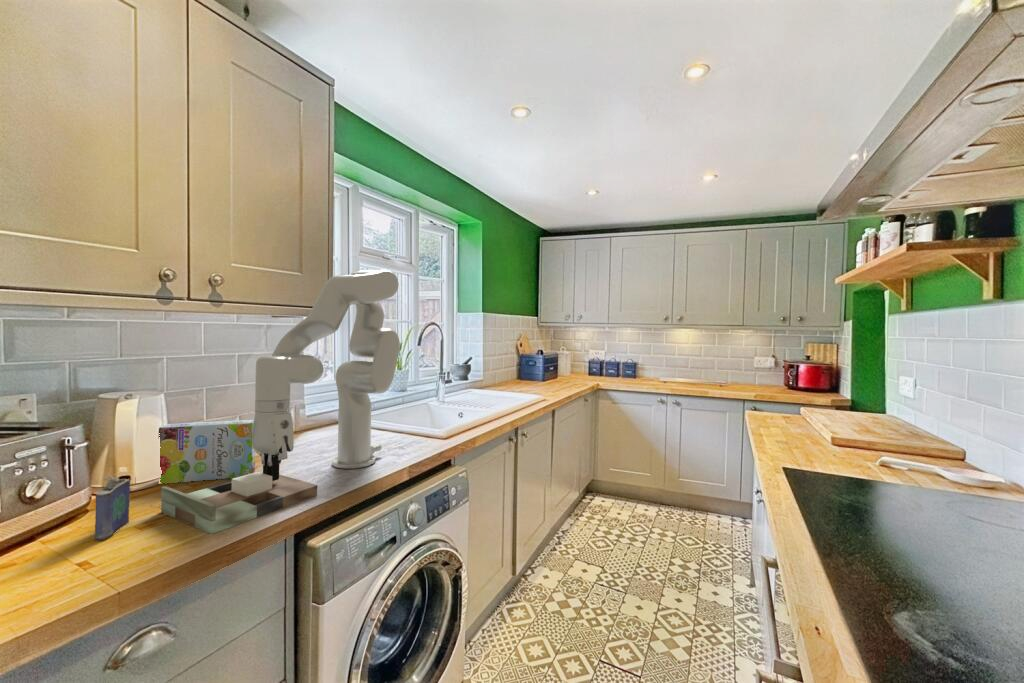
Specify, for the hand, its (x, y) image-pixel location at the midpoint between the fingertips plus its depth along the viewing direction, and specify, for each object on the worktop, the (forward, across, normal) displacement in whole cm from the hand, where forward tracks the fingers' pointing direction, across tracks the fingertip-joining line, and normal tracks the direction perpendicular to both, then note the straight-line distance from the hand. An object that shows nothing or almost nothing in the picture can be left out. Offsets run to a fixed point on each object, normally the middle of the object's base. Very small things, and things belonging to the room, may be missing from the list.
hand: (270, 480), depth 105 cm
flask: (+4, +8, +27) cm, 29 cm away
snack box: (+4, +25, +1) cm, 25 cm away
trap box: (+4, 0, +6) cm, 7 cm away
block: (+1, 0, +5) cm, 5 cm away
